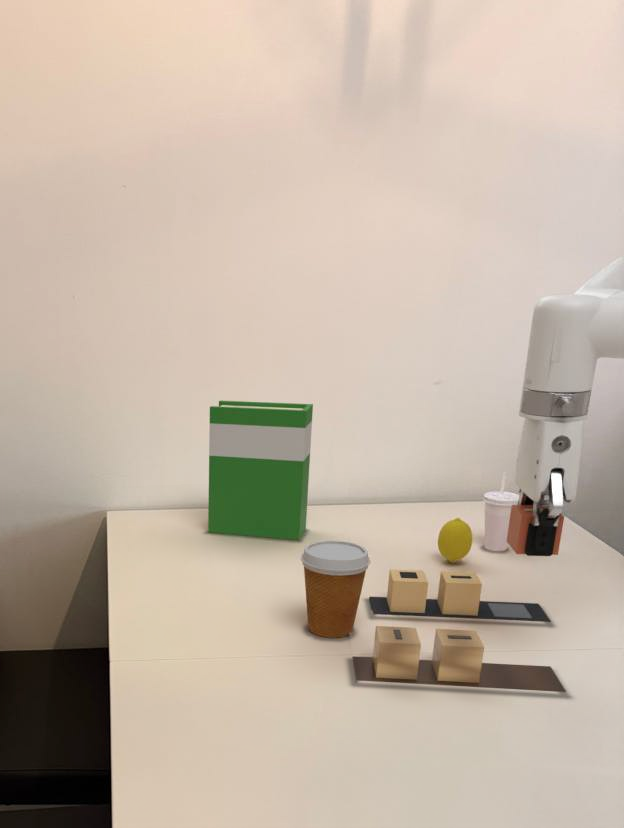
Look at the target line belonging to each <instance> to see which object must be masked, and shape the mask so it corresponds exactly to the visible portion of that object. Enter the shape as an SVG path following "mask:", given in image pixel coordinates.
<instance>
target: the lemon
mask: <svg viewBox="0 0 624 828" xmlns="http://www.w3.org/2000/svg"><path fill="white" fill-rule="evenodd" d="M472 545H473V531H472V529H471V526H469V524H468V523H467V522H466V521H464V520H462V519H461V517H460V518H459V517H455V518H454V519H451V520H449V521H447V522H445V524H444V525H443V526H442V527H441V528H440V531H439V534H438V538H437V549H438V551H439V554H440V555H441V556H442V557H443V558H445V559H446V560H448V562H450V563H451V564H454V563H456V562H457V561H458V560H462V559H464V558H465V557H466V556H467V555H468V554H469V552H470V551H471V549H472Z"/></svg>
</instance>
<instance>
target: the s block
mask: <svg viewBox="0 0 624 828" xmlns="http://www.w3.org/2000/svg"><path fill="white" fill-rule="evenodd" d="M547 506H548V505H541V507H540V513H541V512H542V510H543V509H544V508H548V507H547ZM532 517H533V505H512V506H511V513H510V520H509V527H508V534H507V543H508V545H509V547H510V548H511V550H512V551H513V552H514V553H515V554H516V555H526V554H525V546H526V540H527V533H528V527H529V524H532ZM564 521H565V516H564V515H563V513H561V514H560V516H559V523H558V526H557V531H556V537H555V543H554V549H553V554H552V555H553V556H558V555H559V550H560V545H561V539H562V533H563V527H564ZM552 555H551V556H552Z"/></svg>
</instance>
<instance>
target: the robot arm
mask: <svg viewBox="0 0 624 828" xmlns="http://www.w3.org/2000/svg"><path fill="white" fill-rule="evenodd" d="M600 358H609V359H621V360H624V255H622V256H620V257H618V258H617V259H615V260H614V261H613V262H611V263H610V264H608V265H607V266H605V267H604V268H603V269H601V270H600V271H599V272H597V273H596V274H595V275H594V276H593V277H591V278H590V279H589V280H588V281H587V282H585V283H584V284H582V285H581V286H580V287H579V288H578V289H577V290H576V291H575V292H574V293H567V294H565V293H564V294H550V295H545V296H543V297H541V298H540V299H538V301H537V302H536V304H534V308H533V312H532V318H531V326H530V333H529V341H528V347H527V355H526V362H525V369H524V377H523V383H522V389H521V395H520V396H521V398H520V403H519V410H518V411H519V412H518V416H519V417H521V418H524V421H523V425H522V431H521V435H520V441H519V446H518V451H517V458H516V464H515V465H516V466H515V467H516V468H515V475H514V476H515V484H516V486H517V487H518V488H519V490H518V493H519V494H518V495H519V499H518V504H517V505H533V517H532V524H529V527H528V533H527V540H526V546H525V554H524V555H525V556H528V557H551V556H552V554H553V549H554V543H555V537H556V531H557V526H558V523H559V516H560V514H562V512H563V511H564V509H565V502H566V503H568V504H571V503H572V502H574V501H575V500H576V498H577V491H578V483H579V475H580V468H581V467H580V466H581V458H582V447H583V421H584V420H586V419H587V418H588V415H589V413H588V412H589V407H590V402H591V396H592V389H593V383H594V379H595V373H596V367H597V361H598V359H600ZM545 496H548V499H545ZM541 505H548V506H547V507H548V508H544V509H543V510H542V512H541V513H540V507H541Z"/></svg>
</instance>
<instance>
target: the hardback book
mask: <svg viewBox="0 0 624 828" xmlns="http://www.w3.org/2000/svg"><path fill="white" fill-rule="evenodd" d="M313 410H314V404H313V403H291V402H290V403H289V402H266V401H243V400H242V401H241V400H218V406H215V405H211V406H209V439H208V441H209V442H208V443H209V445H208V508H207V509H208V511H207V513H208V514H207V515H208V517H207V518H208V519H207V532H208V533H213V534H223V535H236V536H244V537H245V536H246V537H247V536H248V537H257V538H270V539H280V540H281V539H282V540H289V541H291V540H292V541H300V539H301V538H302V536H303V535H304V533H305V531H306V529H307V512H308V497H309V480H310V462H311V447H312V430H313V429H312V427H313V412H314V411H313Z"/></svg>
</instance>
